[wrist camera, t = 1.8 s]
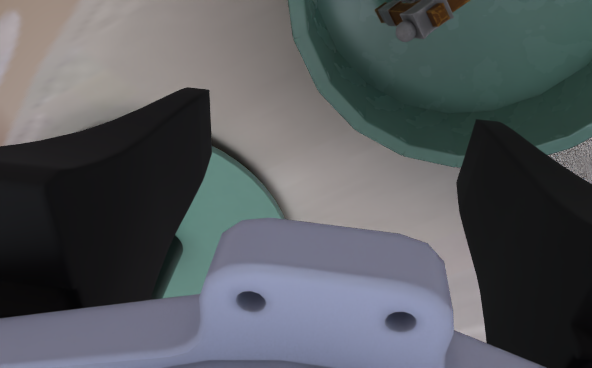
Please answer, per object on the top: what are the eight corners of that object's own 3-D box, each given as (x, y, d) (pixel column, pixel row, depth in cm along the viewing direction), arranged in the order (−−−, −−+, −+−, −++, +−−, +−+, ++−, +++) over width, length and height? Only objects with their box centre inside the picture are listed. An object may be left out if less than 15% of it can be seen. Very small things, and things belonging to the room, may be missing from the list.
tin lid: (316, 155, 25) (305, 224, 21) (272, 336, 34) (257, 413, 30) (26, 92, 25) (-49, 148, 21) (57, 290, 34) (9, 360, 30)
